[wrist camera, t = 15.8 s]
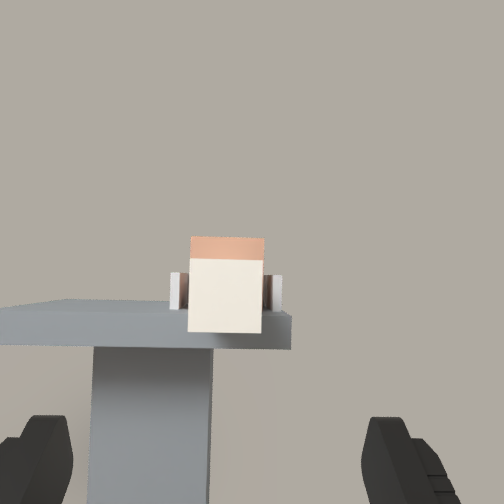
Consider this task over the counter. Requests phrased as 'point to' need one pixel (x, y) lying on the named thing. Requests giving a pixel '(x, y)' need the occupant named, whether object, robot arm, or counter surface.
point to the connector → (226, 284)
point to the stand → (146, 386)
